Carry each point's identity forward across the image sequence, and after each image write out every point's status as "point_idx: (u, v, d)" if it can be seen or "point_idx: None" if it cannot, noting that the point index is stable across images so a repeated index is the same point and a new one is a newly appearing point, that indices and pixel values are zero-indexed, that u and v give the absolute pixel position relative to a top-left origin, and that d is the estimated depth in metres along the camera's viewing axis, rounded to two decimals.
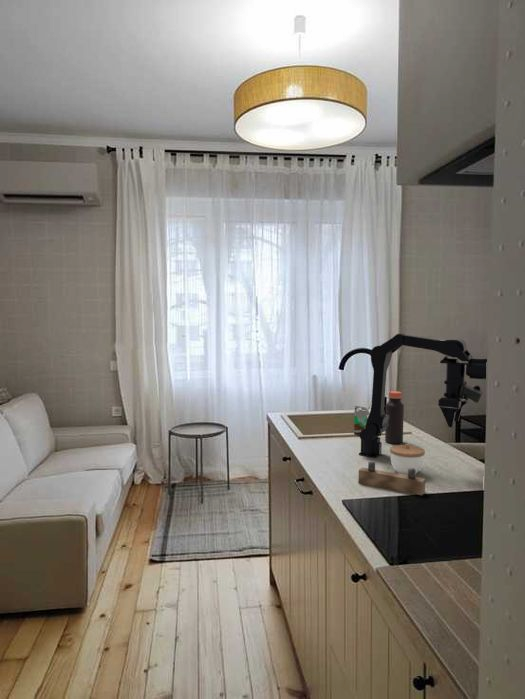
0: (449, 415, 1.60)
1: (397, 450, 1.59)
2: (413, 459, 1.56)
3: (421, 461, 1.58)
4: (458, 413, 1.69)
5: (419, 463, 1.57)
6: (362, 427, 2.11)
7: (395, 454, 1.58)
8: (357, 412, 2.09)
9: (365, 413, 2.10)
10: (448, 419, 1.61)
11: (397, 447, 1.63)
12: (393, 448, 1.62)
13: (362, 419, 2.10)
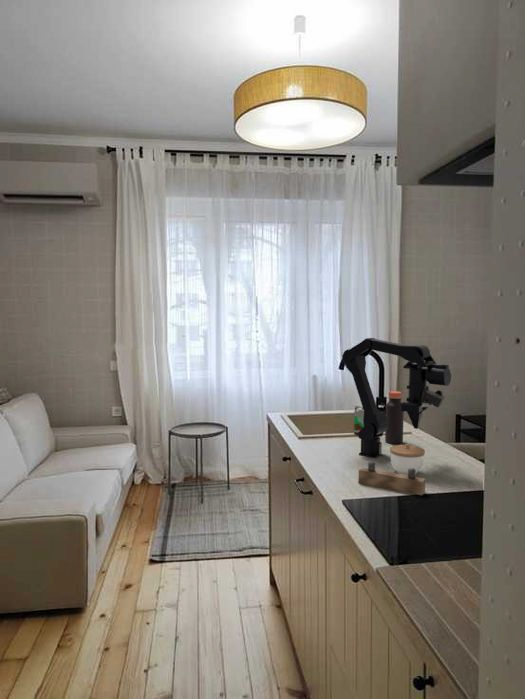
0: (414, 417, 1.68)
1: (397, 450, 1.59)
2: (413, 459, 1.56)
3: (421, 461, 1.58)
4: None
5: (419, 463, 1.57)
6: (362, 427, 2.11)
7: (395, 454, 1.58)
8: (357, 412, 2.09)
9: None
10: (414, 421, 1.68)
11: (397, 447, 1.63)
12: (393, 448, 1.62)
13: (362, 419, 2.10)
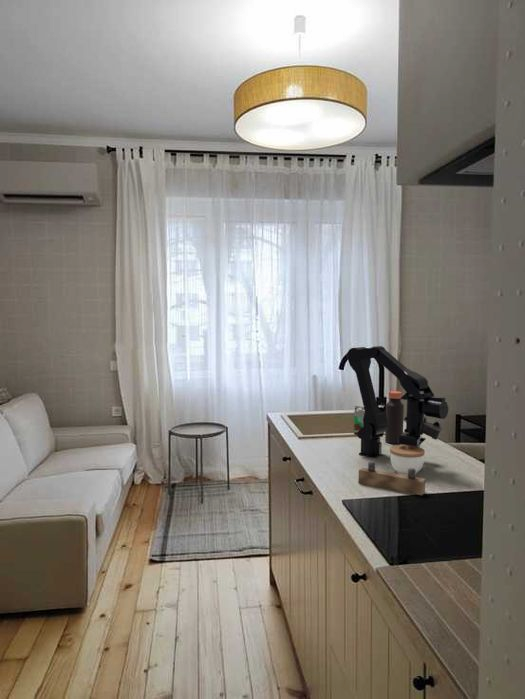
0: None
1: (397, 450, 1.59)
2: (413, 459, 1.56)
3: (421, 461, 1.57)
4: None
5: (419, 463, 1.57)
6: (362, 427, 2.11)
7: (395, 454, 1.58)
8: (357, 412, 2.09)
9: None
10: None
11: (397, 447, 1.62)
12: (393, 448, 1.61)
13: (362, 419, 2.10)
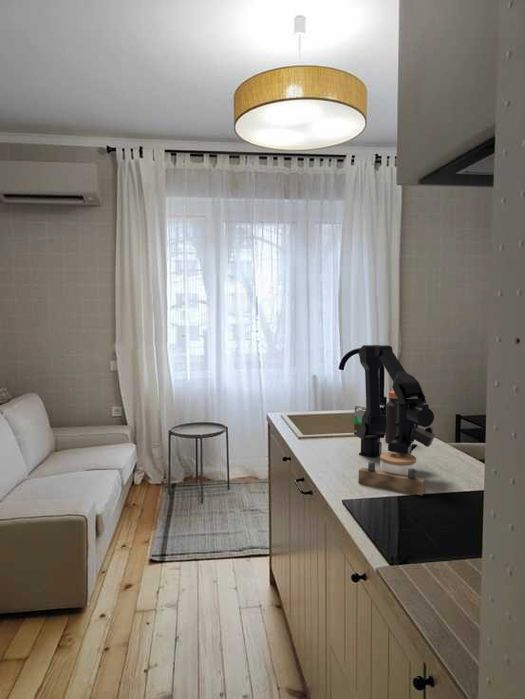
0: None
1: (387, 458, 1.51)
2: (404, 467, 1.48)
3: None
4: None
5: None
6: None
7: (385, 461, 1.50)
8: (357, 412, 2.09)
9: None
10: None
11: (387, 454, 1.54)
12: (383, 455, 1.53)
13: None
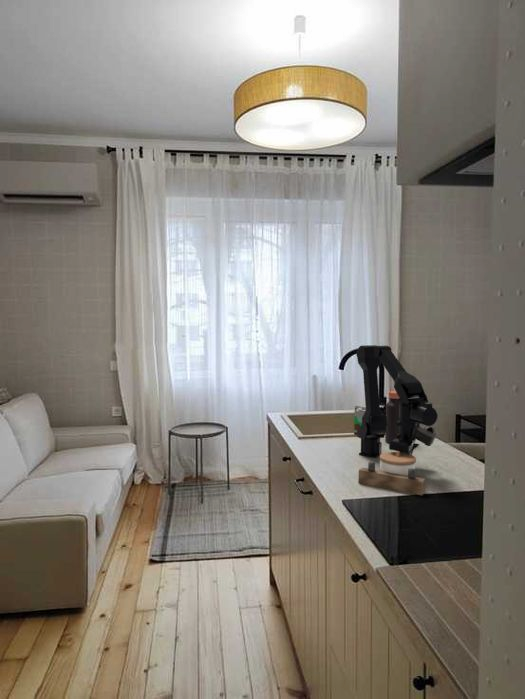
0: None
1: (387, 458, 1.51)
2: (404, 467, 1.48)
3: None
4: None
5: None
6: None
7: (385, 462, 1.50)
8: (357, 412, 2.09)
9: None
10: None
11: (387, 454, 1.54)
12: (383, 456, 1.53)
13: None
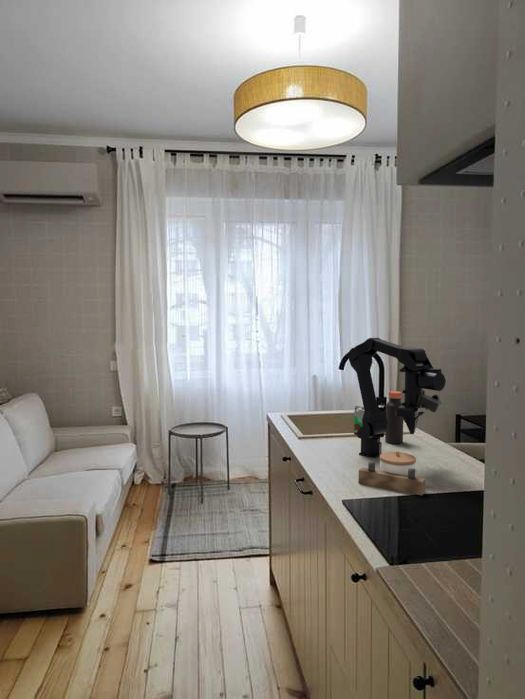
0: (410, 422, 1.64)
1: (387, 458, 1.51)
2: (404, 467, 1.48)
3: None
4: None
5: None
6: None
7: (385, 462, 1.50)
8: (357, 412, 2.09)
9: None
10: (410, 426, 1.64)
11: (387, 454, 1.54)
12: (383, 456, 1.53)
13: None
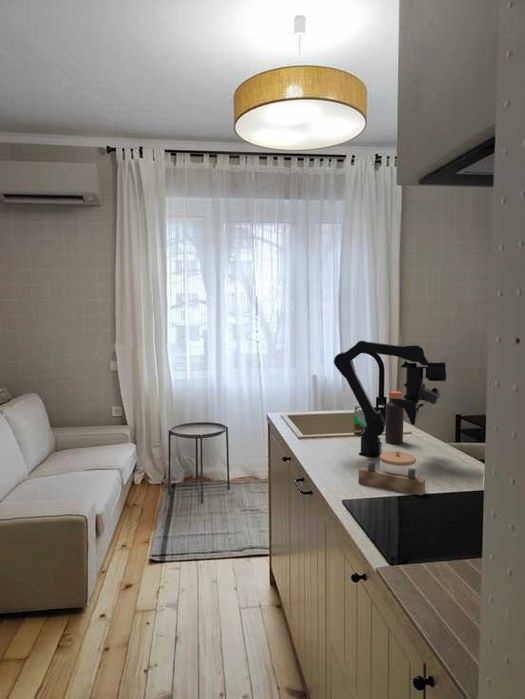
0: (411, 413, 1.75)
1: (387, 458, 1.51)
2: (404, 467, 1.48)
3: None
4: None
5: None
6: (362, 427, 2.11)
7: (385, 462, 1.50)
8: (357, 412, 2.09)
9: None
10: (411, 417, 1.76)
11: (387, 454, 1.54)
12: (383, 455, 1.53)
13: (362, 419, 2.10)
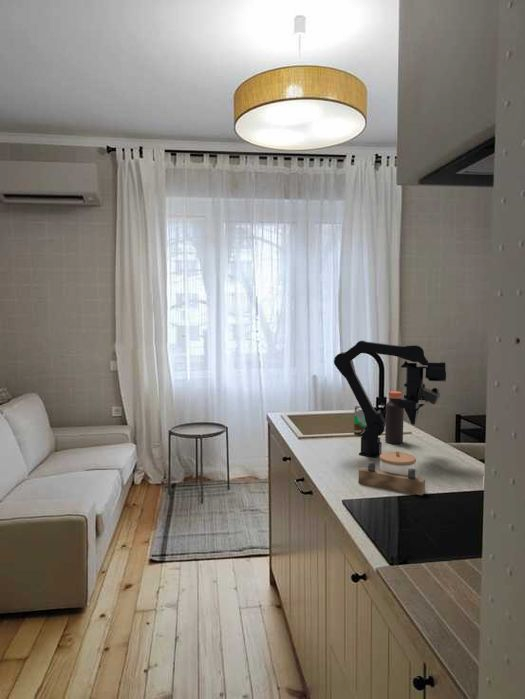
0: (411, 413, 1.75)
1: (387, 458, 1.51)
2: (404, 467, 1.48)
3: None
4: None
5: None
6: (362, 427, 2.11)
7: (385, 462, 1.50)
8: (357, 412, 2.09)
9: None
10: (411, 417, 1.76)
11: (387, 454, 1.54)
12: (383, 456, 1.53)
13: (362, 419, 2.10)
